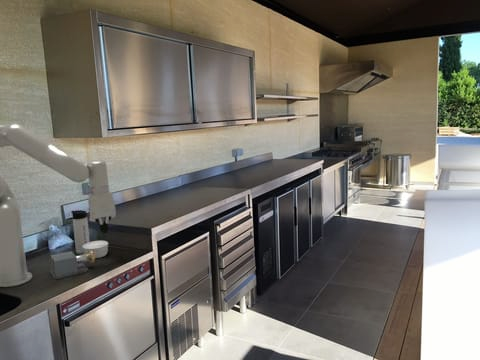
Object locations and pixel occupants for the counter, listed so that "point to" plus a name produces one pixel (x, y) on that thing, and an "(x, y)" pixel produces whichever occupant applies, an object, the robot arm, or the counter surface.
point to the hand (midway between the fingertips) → (104, 232)
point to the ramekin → (96, 248)
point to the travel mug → (80, 229)
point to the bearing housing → (66, 265)
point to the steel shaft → (86, 257)
